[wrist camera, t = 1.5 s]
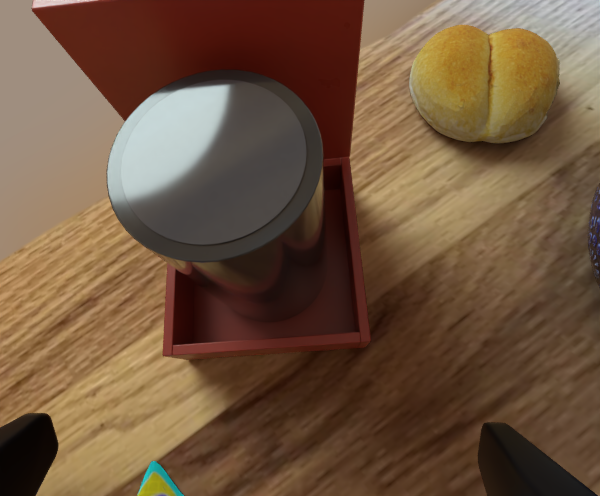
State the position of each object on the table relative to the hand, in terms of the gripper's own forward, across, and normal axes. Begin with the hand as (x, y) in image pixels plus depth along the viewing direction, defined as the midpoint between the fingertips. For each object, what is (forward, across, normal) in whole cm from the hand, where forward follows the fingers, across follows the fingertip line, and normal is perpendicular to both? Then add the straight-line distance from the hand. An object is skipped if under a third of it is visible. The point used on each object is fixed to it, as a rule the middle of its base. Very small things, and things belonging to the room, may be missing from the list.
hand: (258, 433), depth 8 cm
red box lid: (+11, +2, -7) cm, 13 cm away
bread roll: (+23, -12, -7) cm, 27 cm away
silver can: (+15, +2, +2) cm, 16 cm away
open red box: (+16, +2, +2) cm, 16 cm away
